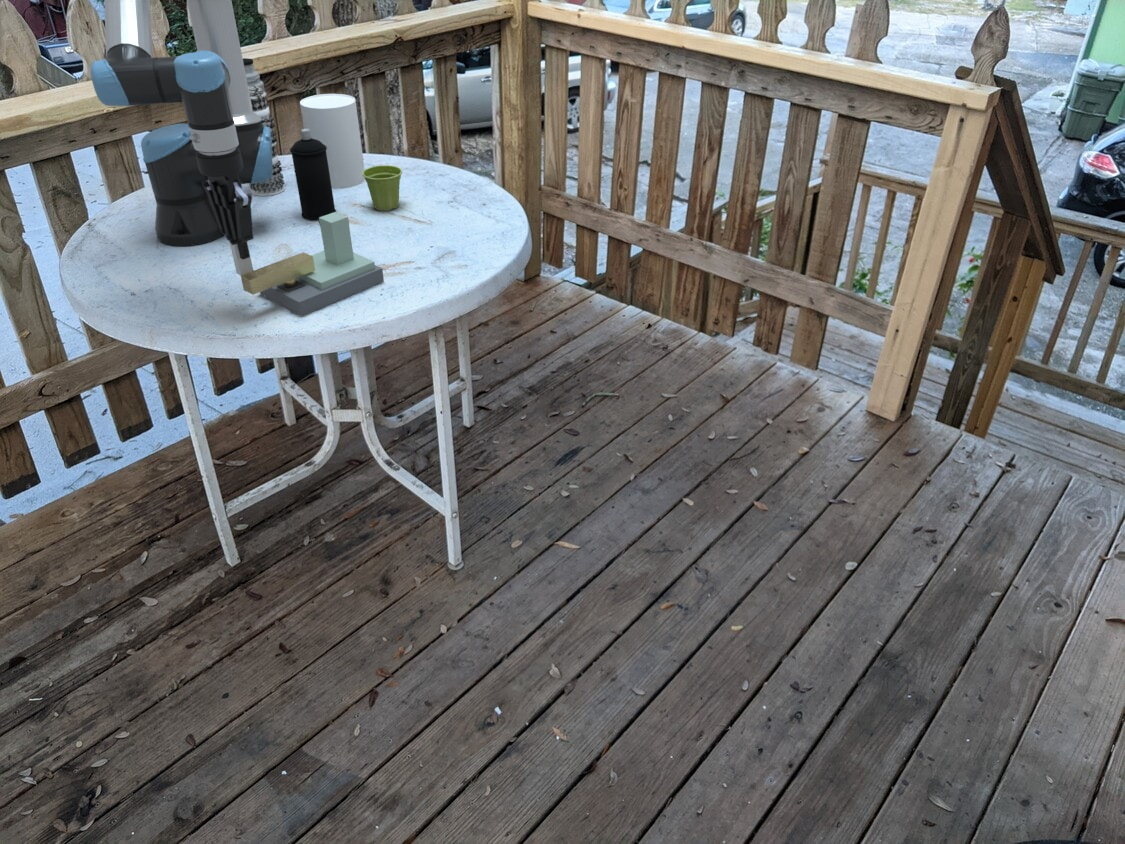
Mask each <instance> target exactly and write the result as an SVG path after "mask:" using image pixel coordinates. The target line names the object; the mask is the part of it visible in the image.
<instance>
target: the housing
mask: <svg viewBox="0 0 1125 844" xmlns="http://www.w3.org/2000/svg"><path fill="white" fill-rule="evenodd" d="M296 281H297V285H296V286H294V287H285V286H284V283H282V284H279V285H277V286H274V287H272V288H269V289H267V290H264V291H261V292H259V294H260V295H261V296H263V297H265V298H267V299H269V301H273V302H274V303H276V304H278V305H280V306H282V307H283V308H286V309H288V310H289V311H291V312H293V313H294V314H296V315H298V316H300V317H304V316H306V315H309V314H311V313H314V312H316V311H318V310H320V309H322V308H325V307H328V306H330V305H332V304H335V303H336V302H339V301H341V300H345V299H346V298H348V297H351V296H353V295H356V294H359V293H360V292H363V291H365V290H368V289H370V288H374V286H376V285H379V284H383V283H385V282H384V281H385V279H384V273H383V268H382V267H380V266H378V265H377V264H375V269H373V270H370V271H368V272H365V273H363V274H360V275H358V276H356V277H353V278H351V279H348V280H346V281H343V282H341V283H338V284H336V285H333V286H331V287H329V288H326V289H324V290H321V289H319V288H317V287H315V286H313V285H311V284H309V283H307V282H305V281H303V280H301V279H299V278H296Z"/></svg>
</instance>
